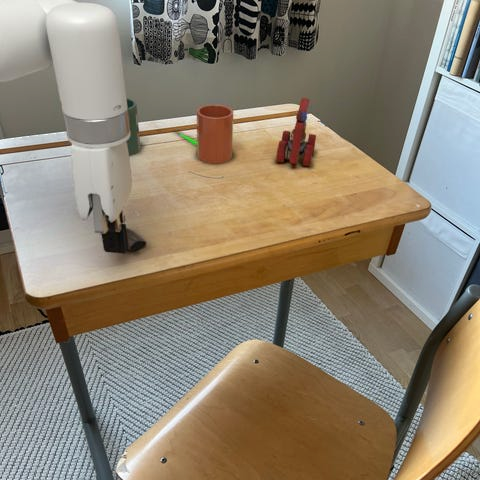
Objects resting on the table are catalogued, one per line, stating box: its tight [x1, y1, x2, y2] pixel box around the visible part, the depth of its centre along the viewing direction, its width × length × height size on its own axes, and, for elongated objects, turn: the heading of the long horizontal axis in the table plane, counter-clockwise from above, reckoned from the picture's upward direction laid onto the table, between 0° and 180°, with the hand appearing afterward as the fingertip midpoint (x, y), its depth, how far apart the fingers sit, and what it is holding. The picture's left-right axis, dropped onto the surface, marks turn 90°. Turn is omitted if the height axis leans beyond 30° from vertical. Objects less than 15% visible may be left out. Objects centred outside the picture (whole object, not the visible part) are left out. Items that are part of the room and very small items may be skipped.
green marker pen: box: [177, 132, 197, 146], centre depth 108 cm, size 1×14×1 cm, turn 40°
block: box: [126, 227, 147, 251], centre depth 80 cm, size 4×6×2 cm, turn 45°
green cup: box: [126, 97, 141, 156], centre depth 102 cm, size 7×7×9 cm
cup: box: [196, 104, 235, 164], centre depth 102 cm, size 7×7×9 cm
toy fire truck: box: [276, 97, 317, 167], centre depth 102 cm, size 7×12×10 cm, turn 168°
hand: (116, 249), depth 74 cm, fingers closed
